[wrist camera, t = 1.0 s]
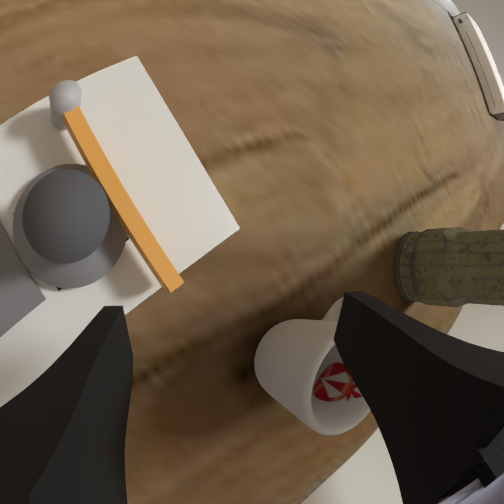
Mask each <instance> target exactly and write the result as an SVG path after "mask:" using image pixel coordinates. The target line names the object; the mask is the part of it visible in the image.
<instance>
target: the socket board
mask: <svg viewBox="0 0 504 504" xmlns="http://www.w3.org/2000/svg"><path fill="white" fill-rule="evenodd" d="M76 83H78V84H79V86H80V87H81V91H82V93H81V106H80V110H81V111H82V113H83V115H84V117H85V119H86V121H87V123H88V125H89V127H90V128H91V130H92V132H93V134H94V136H95V138H96V139H97V141H98V143H99V145H100V147H101V148H102V150H103V152H104V154H105V156H106V157H107V159H108V161H109V163H110V164H111V166H112V168H113V170H114V171H115V173H116V175H117V176H118V178H119V180H120V182H121V183H122V185H123V187H124V188H125V190H126V192H127V193H128V195H129V197H130V198H131V200H132V202H133V203H134V205H135V207H136V208H137V210H138V212H139V213H140V215H141V216H142V218H143V220H144V221H145V223H146V224H147V226H148V228H149V229H150V231H151V232H152V234H153V236H154V237H155V239H156V240H157V242H158V243H159V245H160V246H161V248H162V250H163V251H164V253H165V254H166V256H167V257H168V259H169V260H170V262H171V263H172V265H173V266H174V268H175V269H176V271H177V272H178V274H179V273H181V272H182V271H183V270H185V269H186V268H187V267H189V266H190V265H191V264H193V263H194V262H195V261H197V260H198V259H199V258H201V257H202V256H203V255H205V254H206V253H208V252H209V251H210V250H212V249H213V248H214V247H216V246H217V245H218V244H220V243H221V242H222V241H224V240H225V239H226V238H228V237H229V236H231V235H232V234H233V233H235V232H236V231H237V230H239V229H240V228H239V226H238V224H237V223H236V221H235V219H234V218H233V216H232V214H231V213H230V211H229V209H228V208H227V206H226V204H225V203H224V201H223V199H222V197H221V196H220V194H219V192H218V191H217V189H216V187H215V186H214V184H213V182H212V181H211V179H210V177H209V176H208V174H207V172H206V171H205V169H204V167H203V166H202V164H201V162H200V161H199V159H198V157H197V156H196V154H195V152H194V151H193V149H192V147H191V146H190V144H189V142H188V141H187V139H186V137H185V135H184V134H183V132H182V130H181V129H180V127H179V125H178V124H177V122H176V120H175V119H174V117H173V115H172V114H171V112H170V110H169V109H168V107H167V105H166V104H165V102H164V100H163V99H162V97H161V95H160V94H159V92H158V90H157V89H156V87H155V85H154V84H153V82H152V80H151V79H150V77H149V75H148V74H147V72H146V70H145V69H144V67H143V65H142V64H141V62H140V60H139V59H138V57H137V56H135V57H132V58H129V59H127V60H124V61H122V62H119V63H117V64H114V65H112V66H109V67H107V68H105V69H102V70H100V71H98V72H96V73H93V74H91V75H89V76H87V77H85V78H83V79H80V80H78V81H76ZM62 164H81V165H86V164H85V162H84V160H83V158H82V156H81V155H80V153H79V151H78V149H77V147H76V145H75V143H74V141H73V140H72V138H71V136H70V134H69V132H68V130H67V129H59V128H57V127H56V126H55V125H54V124H53V122H52V116H51V108H50V100H49V96H47V97H45V98H44V99H42V100H40V101H38V102H37V103H35V104H33V105H31V106H30V107H28V108H26V109H25V110H23V111H21V112H20V113H18V114H17V115H15V116H13V117H12V118H10V119H9V120H7V121H6V122H4V123H3V124H1V125H0V407H1V406H3V405H4V404H5V403H7V402H8V401H9V400H11V399H12V398H13V397H15V396H16V395H17V394H19V393H20V392H21V391H23V390H24V389H25V388H27V387H28V386H29V385H30V384H31V383H32V382H34V381H35V380H36V379H37V378H38V377H39V376H40V375H41V374H43V373H44V372H45V371H46V370H47V369H48V368H49V367H50V366H51V365H52V364H53V363H54V362H55V361H56V360H57V359H58V358H59V356H60V355H61V354H62V353H63V352H64V351H65V350H66V349H67V348H68V347H69V346H70V345H71V344H72V343H73V341H74V340H75V339H76V338H77V337H78V336H79V335H80V333H81V332H82V331H83V330H84V329H85V327H86V326H87V325H88V324H89V323H90V322H91V320H92V319H93V318H94V317H95V316H96V315H97V313H98V312H99V311H100V310H101V309H102V308H103V307H104V306H123V309H124V315H126V314H127V313H128V312H130V311H131V310H132V309H133V308H135V307H136V306H137V305H139V304H140V303H141V302H143V301H144V300H145V299H146V298H148V297H149V296H150V295H152V294H153V293H154V292H156V291H157V290H158V289H160V288H161V287H162V286H161V285H160V283H159V282H158V280H157V279H156V277H155V276H154V274H153V273H152V271H151V270H150V268H149V267H148V265H147V264H146V262H145V261H144V259H143V258H142V256H141V255H140V253H139V252H138V250H137V249H136V247H135V246H134V244H133V243H132V241H131V239H130V238H129V236H128V235H127V239H126V243H125V246H124V249H123V252H122V254H121V256H120V257H119V259H118V261H117V262H116V264H115V265H114V266H113V268H112V269H111V270H110V271H109V272H108V273H107V274H106V275H104V276H103V277H102V278H100V279H99V280H97V281H96V282H94V283H92V284H89V285H87V286H83V287H79V288H67V289H66V288H58V287H55V286H51V285H49V284H46V283H44V282H43V281H41V280H39V279H38V278H36V277H35V276H34V275H33V274H32V273H31V272H30V271H29V270H28V269H27V268H26V267H25V265H24V264H23V262H22V261H21V259H20V257H19V255H18V253H17V250H16V247H15V243H14V239H13V217H14V212H15V209H16V205H17V203H18V200H19V198H20V196H21V194H22V193H23V191H24V190H25V188H26V187H27V186H28V184H29V183H30V182H31V181H32V180H33V179H34V178H35V177H37V176H38V175H39V174H41V173H42V172H44V171H46V170H47V169H50V168H52V167H55V166H58V165H62Z"/></svg>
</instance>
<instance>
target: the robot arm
mask: <svg viewBox="0 0 504 504" xmlns="http://www.w3.org/2000/svg"><path fill="white" fill-rule="evenodd" d="M334 342H335V345H336V347H337V350H338V352H339V355H340V357H341V359H342V362H343V364H344V366H345V367H346V369H347V371H348V372H349V374H350V376H351V378H352V379H353V381H354V383H355V384H356V386H357V388H358V389H359V391H360V393H361V394H362V396H363V398H364V400H365V401H366V403H367V405H368V406H369V408H370V410H371V412H372V414H373V415H374V417H375V419H376V422H377V424H378V426H379V429H380V431H381V433H382V436H383V438H384V441H385V443H386V446H387V449H388V452H389V454H390V457H391V460H392V463H393V466H394V469H395V473H396V476H397V480H398V483H399V488H400V492H401V496H402V501H403V504H504V352H500V351H495V350H491V349H487V348H484V347H480V346H477V345H473V344H470V343H467V342H465V341H462V340H459V339H457V338H454V337H452V336H449V335H447V334H444V333H442V332H440V331H438V330H436V329H434V328H431V327H429V326H427V325H425V324H423V323H421V322H419V321H417V320H415V319H413V318H412V317H410V316H408V315H406V314H404V313H402V312H400V311H399V310H397V309H395V308H393V307H391V306H389V305H388V304H386V303H384V302H382V301H380V300H378V299H376V298H374V297H372V296H370V295H368V294H366V293H364V292H361V291H354V292H345V293H344V298H343V302H342V306H341V311H340V315H339V319H338V323H337V327H336V331H335V335H334ZM132 373H133V353H132V349H131V344H130V340H129V335H128V330H127V325H126V320H125V315H124V309H123V306H104V307H103V308H102V309H101V310H100V311H99V312H98V313H97V315H96V316H95V317H94V318H93V319H92V320H91V322H90V323H89V324H88V325H87V326H86V327H85V329H84V330H83V331H82V332H81V333H80V335H79V336H78V337H77V338H76V339H75V340H74V341H73V343H72V344H71V345H70V346H69V347H68V348H67V349H66V350H65V351H64V352H63V353H62V354H61V355H60V356H59V358H58V359H57V360H56V361H55V362H54V363H53V364H52V365H51V366H50V367H49V368H48V369H47V370H46V371H45V372H44V373H43V374H41V375H40V376H39V377H38V378H37V379H36V380H35V381H34V382H32V383H31V384H30V385H29V386H28V387H27V388H25V389H24V390H23V391H21V392H20V393H19V394H17V395H16V396H15V397H13V398H12V399H11V400H9V401H8V402H7V403H5V404H4V405H3V406H1V407H0V504H127V495H126V482H125V459H124V450H125V436H126V427H127V419H128V411H129V403H130V396H131V388H132Z"/></svg>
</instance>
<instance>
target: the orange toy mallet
mask: <svg viewBox="0 0 504 504" xmlns="http://www.w3.org/2000/svg"><path fill="white" fill-rule="evenodd" d="M81 93H82V91H81V87H80V86H79V84H78V83H76V82H75V81H72V80H64V81H61V82H59V83H57V84H56V85H55V86H54V87H53V88H52V90H51V92H50V95H49V100H50V108H51V116H52V122H53V124H54V125H55V126H56V127H57V128H59V129H67V130H68V132H69V134H70V136H71V138H72V140H73V141H74V143H75V145H76V147H77V149H78V151H79V153H80V155H81V156H82V158H83V160H84V162H85V164H86V166H87V167H88V169H89V171H90V173H91V175H92V176H93V178H94V179H95V180H96V181H97V182H98V183H99V184H100V186H101V187H102V189H103V190H104V192H105V194H106V196H107V199H108V203H109V205H110V207H111V209H112V210H113V212H114V214H115V215H116V217H117V219H118V220H119V222H120V223H121V225H122V227H123V228H124V230H125V232H126V233H127V235H128V236H129V238H130V239H131V241H132V243H133V244H134V246H135V247H136V249H137V250H138V252H139V253H140V255H141V256H142V258H143V259H144V261H145V262H146V264H147V265H148V267H149V268H150V270H151V271H152V273H153V274H154V276H155V277H156V279H157V280H158V282H159V283H160V285H161V286H162V287H163V289H164V290H165V291H168V292H173V291H174V290H175V289H176V288H178V287H179V286H180V285H182V284H183V283H184V281H183V280H182V278H181V277H180V275H179V274H178V272H177V271H176V269H175V268H174V266H173V265H172V263H171V262H170V260H169V259H168V257H167V256H166V254H165V253H164V251H163V250H162V248H161V246H160V245H159V243H158V242H157V240H156V239H155V237H154V236H153V234H152V232H151V231H150V229H149V228H148V226H147V224H146V223H145V221H144V220H143V218H142V216H141V215H140V213H139V212H138V210H137V208H136V207H135V205H134V203H133V202H132V200H131V198H130V197H129V195H128V193H127V192H126V190H125V188H124V187H123V185H122V183H121V182H120V180H119V178H118V176H117V175H116V173H115V171H114V170H113V168H112V166H111V164H110V163H109V161H108V159H107V157H106V156H105V154H104V152H103V150H102V148H101V147H100V145H99V143H98V141H97V139H96V138H95V136H94V134H93V132H92V130H91V128H90V127H89V125H88V123H87V121H86V119H85V117H84V115H83V113H82V111H81V110H80V106H81Z"/></svg>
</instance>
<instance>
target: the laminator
mask: <svg viewBox="0 0 504 504" xmlns="http://www.w3.org/2000/svg"><path fill="white" fill-rule="evenodd" d="M453 20H454V22H455V24H456V26H457V28H458V30H459V33H460V35H461V37H462V39H463V41H464V43H465V46H466V48H467V50H468V53H469V55H470V58H471V60H472V62H473V65H474V68H475V70H476V73H477V75H478V78H479V81H480V84H481V86H482V89H483V92H484V95H485V98H486V101H487V105H488V108H489V111H490V114H491V115H493V116H494V117H496V118H497V119H499V120H500V121H504V86H503V83H502V80H501V78H500V75H499V73H498V70H497V67H496V65H495V62H494V60H493V57H492V55H491V53H490V50H489V48H488V46H487V44H486V41H485V39H484V37H483V35H482V33H481V31H480V29H479V27H478V25H477V23H476V22H475V21H474V20H473V19H472V18H471V17H470V16H469V14H468V13H467V12H464V13H462V14H459V15H457V16H454V17H453Z"/></svg>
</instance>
